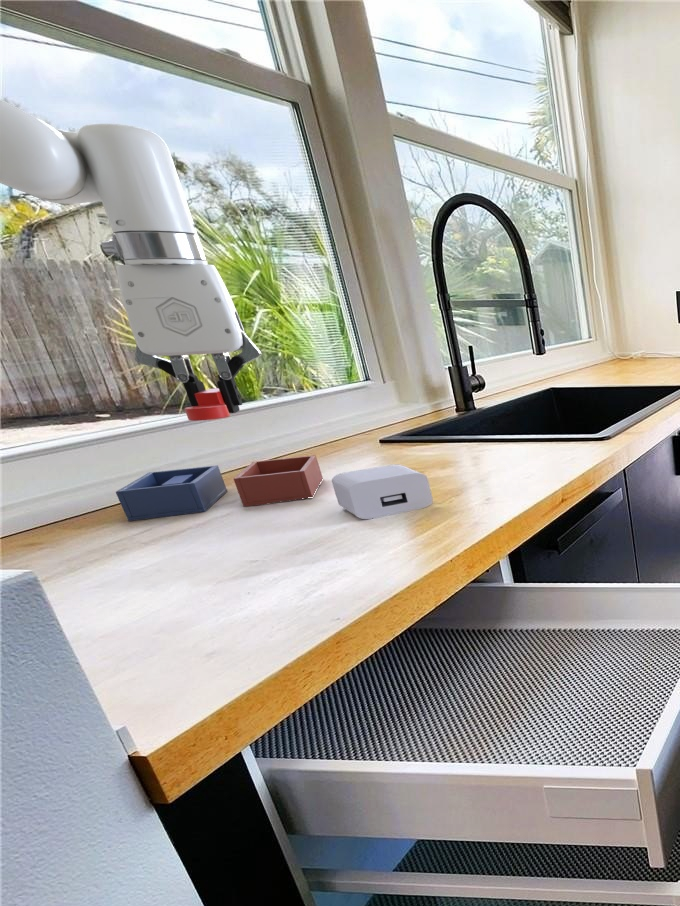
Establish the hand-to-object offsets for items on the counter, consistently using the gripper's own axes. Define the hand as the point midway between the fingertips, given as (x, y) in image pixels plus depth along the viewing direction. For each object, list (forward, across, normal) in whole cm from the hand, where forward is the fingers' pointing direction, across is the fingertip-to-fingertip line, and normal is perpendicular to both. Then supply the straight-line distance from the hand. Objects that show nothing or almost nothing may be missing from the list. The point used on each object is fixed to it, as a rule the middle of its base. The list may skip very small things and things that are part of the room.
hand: (220, 411), depth 88 cm
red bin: (+13, +2, +11) cm, 17 cm away
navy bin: (+13, -11, +10) cm, 20 cm away
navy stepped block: (+13, -10, +10) cm, 19 cm away
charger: (+13, +15, -5) cm, 21 cm away
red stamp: (0, 0, -2) cm, 2 cm away
